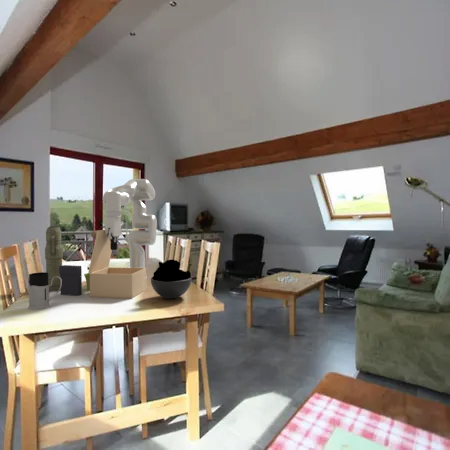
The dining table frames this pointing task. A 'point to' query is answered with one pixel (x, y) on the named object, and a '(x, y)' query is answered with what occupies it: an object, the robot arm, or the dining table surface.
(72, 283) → the dark grey box
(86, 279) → the plant pot
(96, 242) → the flap
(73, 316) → the dining table surface
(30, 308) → the glass holder
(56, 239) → the thermos
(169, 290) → the coal bowl
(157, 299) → the dining table surface
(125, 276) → the carton
